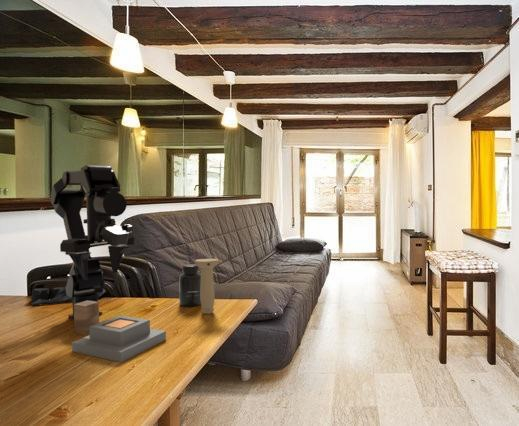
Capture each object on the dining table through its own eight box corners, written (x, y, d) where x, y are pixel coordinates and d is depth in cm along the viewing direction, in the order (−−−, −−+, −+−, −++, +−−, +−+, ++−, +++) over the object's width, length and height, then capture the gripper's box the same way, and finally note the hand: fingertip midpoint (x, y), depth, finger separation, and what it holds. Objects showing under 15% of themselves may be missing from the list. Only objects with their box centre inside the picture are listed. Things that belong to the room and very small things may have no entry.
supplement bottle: (191, 308, 121) (191, 267, 120) (174, 305, 124) (173, 265, 124) (206, 302, 127) (206, 264, 126) (190, 300, 130) (189, 262, 130)
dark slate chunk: (103, 302, 131) (102, 287, 131) (26, 308, 125) (25, 292, 125) (107, 291, 146) (106, 278, 146) (38, 296, 140) (38, 282, 140)
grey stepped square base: (72, 351, 88) (71, 328, 88) (120, 331, 101) (120, 311, 101) (121, 362, 82) (120, 337, 82) (166, 339, 95) (165, 318, 94)
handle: (220, 314, 115) (219, 260, 114) (197, 316, 112) (196, 262, 112) (216, 309, 119) (216, 258, 118) (194, 311, 117) (193, 259, 116)
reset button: (104, 337, 90) (104, 325, 90) (120, 331, 94) (120, 319, 94) (120, 340, 88) (120, 328, 88) (135, 334, 92) (135, 321, 92)
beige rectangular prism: (86, 334, 99) (85, 306, 99) (74, 332, 101) (73, 304, 100) (99, 329, 103) (98, 302, 102) (87, 327, 104) (87, 300, 104)
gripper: (89, 217, 92) (91, 286, 93) (149, 213, 108) (150, 272, 109) (57, 216, 97) (59, 282, 98) (119, 213, 114) (120, 269, 115)
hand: (100, 276), depth 105 cm, fingers open, 9 cm apart
